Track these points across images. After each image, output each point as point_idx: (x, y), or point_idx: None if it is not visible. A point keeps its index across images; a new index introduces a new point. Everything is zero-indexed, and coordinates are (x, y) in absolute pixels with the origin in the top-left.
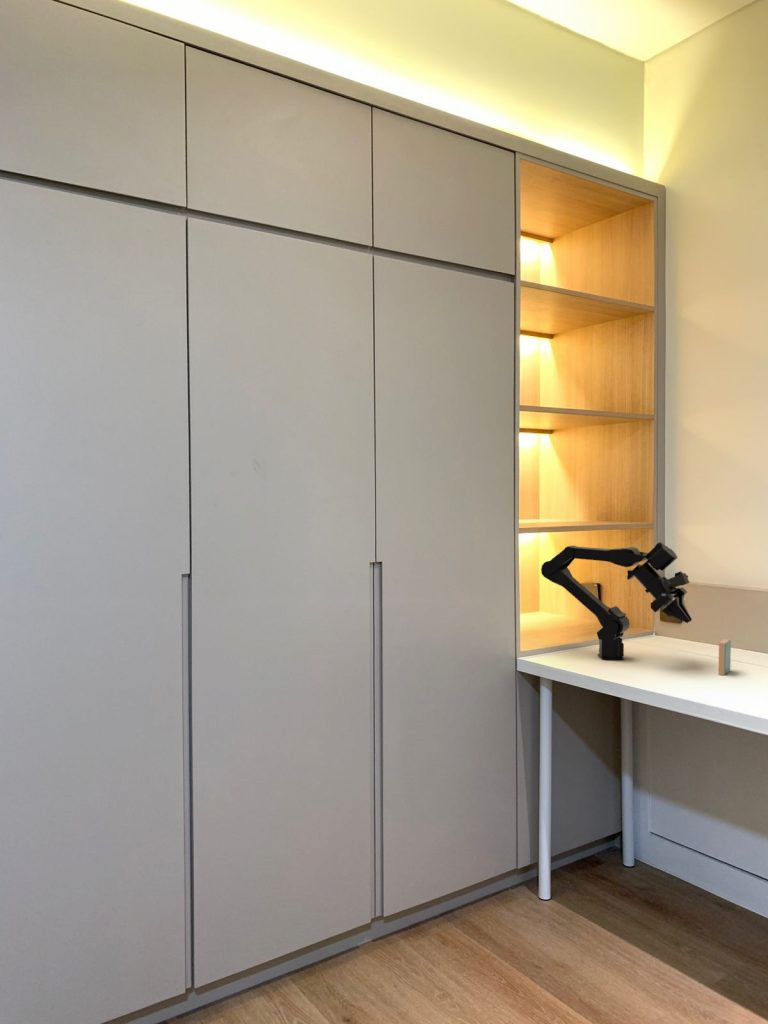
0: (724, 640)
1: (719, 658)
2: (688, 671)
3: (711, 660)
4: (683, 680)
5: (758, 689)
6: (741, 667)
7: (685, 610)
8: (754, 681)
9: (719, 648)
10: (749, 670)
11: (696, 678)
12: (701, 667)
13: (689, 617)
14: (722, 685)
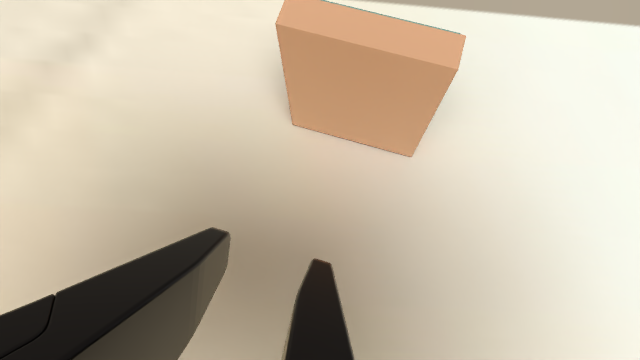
0: (343, 29)
1: (431, 118)
2: (379, 301)
3: (67, 167)
4: (613, 338)
5: (613, 27)
6: (202, 50)
7: (134, 317)
8: (470, 27)
9: (445, 87)
10: (256, 25)
11: (531, 267)
12: (255, 227)
13: (213, 256)
14: (619, 156)
